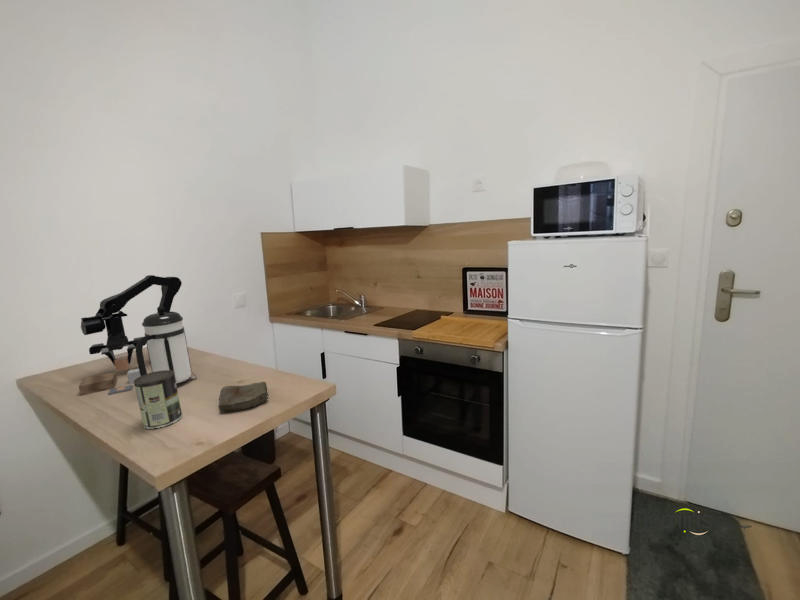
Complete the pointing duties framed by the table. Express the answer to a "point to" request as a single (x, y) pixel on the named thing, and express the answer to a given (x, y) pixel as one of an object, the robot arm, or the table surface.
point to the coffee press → (165, 345)
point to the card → (120, 389)
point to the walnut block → (98, 383)
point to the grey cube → (133, 375)
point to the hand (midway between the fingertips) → (122, 364)
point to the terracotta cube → (122, 363)
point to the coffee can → (158, 399)
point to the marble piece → (242, 396)
